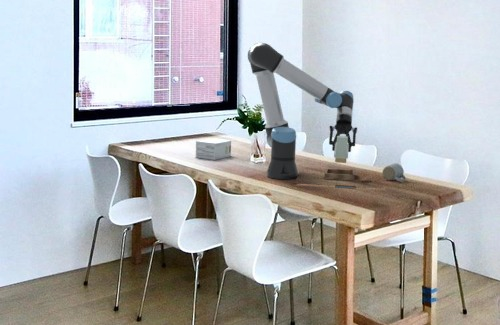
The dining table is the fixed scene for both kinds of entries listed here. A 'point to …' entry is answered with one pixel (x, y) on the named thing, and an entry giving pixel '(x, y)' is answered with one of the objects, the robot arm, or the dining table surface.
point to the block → (341, 149)
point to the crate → (339, 174)
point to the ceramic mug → (394, 172)
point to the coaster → (344, 186)
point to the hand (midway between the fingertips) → (341, 156)
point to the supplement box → (213, 149)
